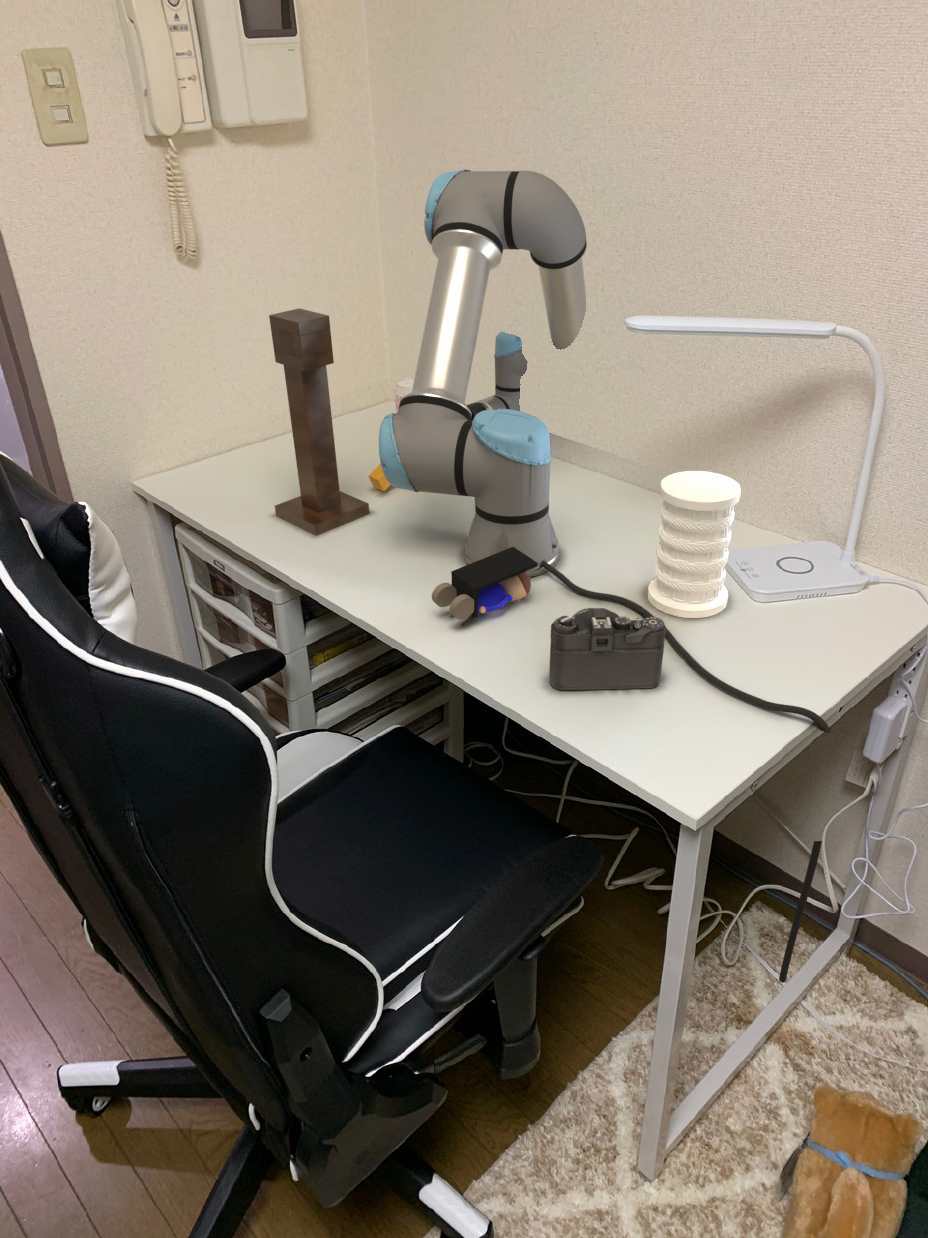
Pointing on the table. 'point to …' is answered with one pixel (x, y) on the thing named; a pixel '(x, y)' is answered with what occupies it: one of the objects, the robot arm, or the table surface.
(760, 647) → the table surface
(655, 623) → the camera
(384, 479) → the peg
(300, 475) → the stand
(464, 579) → the figurine character
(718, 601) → the decorative container
